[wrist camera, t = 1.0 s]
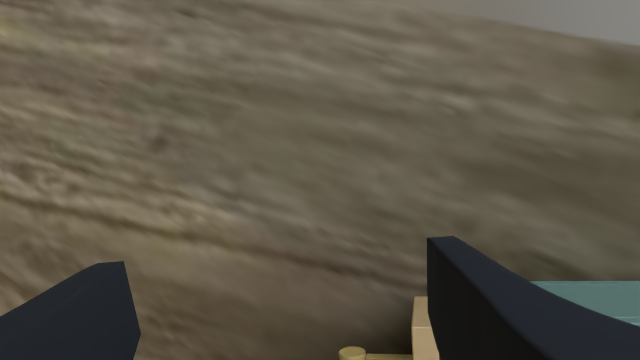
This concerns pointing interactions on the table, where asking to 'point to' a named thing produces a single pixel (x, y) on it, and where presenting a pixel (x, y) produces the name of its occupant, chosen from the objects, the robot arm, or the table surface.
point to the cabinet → (601, 296)
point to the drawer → (422, 339)
